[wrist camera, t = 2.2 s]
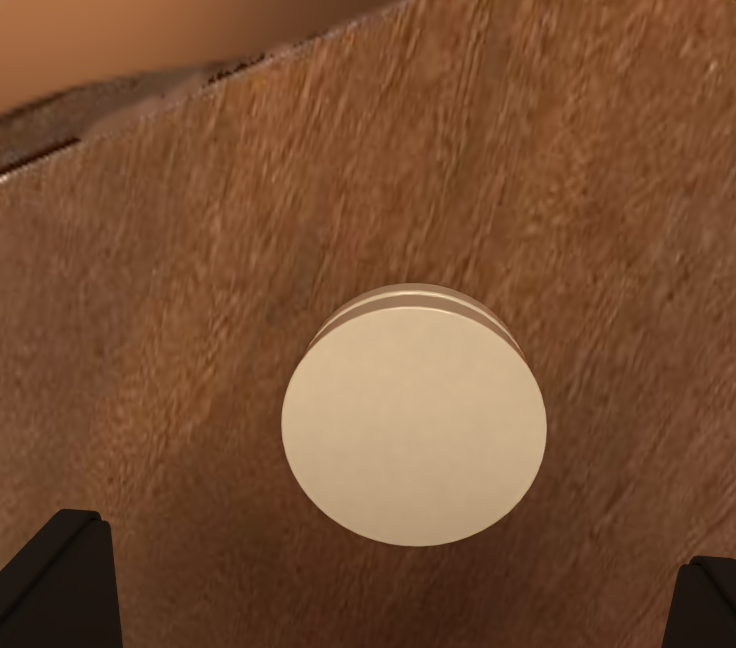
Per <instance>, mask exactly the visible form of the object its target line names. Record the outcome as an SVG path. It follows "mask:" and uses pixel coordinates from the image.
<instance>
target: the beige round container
mask: <svg viewBox="0 0 736 648" xmlns="http://www.w3.org/2000/svg"><path fill="white" fill-rule="evenodd" d="M281 429H282V440H283V445H284V449H285V454H286V457H287V459H288V462H289V465H290V468H291V470H292V472H293V474H294V476H295V478H296V479H297V481H298V483H299V485H300V486H301V487H302V489H303V490H304V492H305V493H306V495H307V496H308V497H309V498H310V499H311V500H312V501H313V503H314V504H315V505H316V506H317V507H318V508H319V509H320V510H322V511H323V512H324V513H325V514H326V515H327V516H329V517H330V518H331V519H333V520H334V521H336V522H337V523H339V524H340V525H342V526H343V527H345V528H347V529H349V530H351V531H353V532H355V533H357V534H359V535H362V536H364V537H367V538H370V539H372V540H376V541H380V542H384V543H388V544H394V545H401V546H432V545H440V544H445V543H450V542H454V541H457V540H460V539H464V538H467V537H469V536H472V535H474V534H476V533H478V532H480V531H483V530H484V529H486V528H488V527H489V526H491V525H492V524H494V523H496V522H497V521H498V520H500V519H501V518H502V517H503V516H505V515H506V514H507V513H508V512H510V511H511V509H512V508H513V507H514V506H515V505H516V504H517V503H518V502H519V501H520V500H521V499H522V497H523V496H524V495H525V493H526V492H527V490H528V489H529V488H530V486H531V484H532V482H533V480H534V478H535V477H536V475H537V473H538V470H539V467H540V465H541V462H542V459H543V455H544V450H545V445H546V435H547V422H546V411H545V406H544V402H543V398H542V394H541V392H540V389H539V387H538V384H537V382H536V379H535V377H534V375H533V373H532V371H531V369H530V367H529V365H528V363H527V361H526V359H525V356H524V354H523V352H522V350H521V348H520V346H519V344H518V343H517V341H516V339H515V337H514V336H513V334H512V333H511V331H510V330H509V329H508V328H507V326H506V325H505V324H504V322H503V321H502V320H500V319H499V318H498V317H497V316H496V315H495V314H494V313H493V312H492V311H491V310H490V309H488V308H487V307H486V306H484V305H483V304H481V303H480V302H478V301H477V300H475V299H473V298H471V297H469V296H468V295H466V294H463V293H461V292H458V291H455V290H453V289H450V288H446V287H442V286H438V285H432V284H424V283H402V284H395V285H388V286H384V287H380V288H377V289H373V290H371V291H368V292H366V293H363V294H361V295H359V296H357V297H355V298H354V299H352V300H350V301H348V302H347V303H345V304H344V305H343V306H341V307H340V308H339V309H337V310H336V311H335V312H334V313H333V314H332V315H331V316H330V317H329V318H328V319H327V320H326V321H325V322H324V323H323V324H322V326H321V327H320V328H319V330H318V331H317V332H316V334H315V335H314V337H313V339H312V341H311V342H310V344H309V346H308V348H307V350H306V352H305V353H304V355H303V357H302V359H301V361H300V363H299V364H298V366H297V368H296V370H295V372H294V374H293V376H292V377H291V380H290V382H289V385H288V388H287V390H286V393H285V398H284V402H283V407H282V419H281Z"/></svg>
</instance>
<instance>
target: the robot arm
mask: <svg viewBox="0 0 736 648" xmlns="http://www.w3.org/2000/svg"><path fill="white" fill-rule="evenodd" d="M0 648H123V644H122V635H121V625H120V615H119V605H118V595H117V586H116V576H115V566H114V556H113V546H112V536H111V528H110V524H109V523H108V522H107V521H102V519H101V516H100V514H99V513H98V512H96V511H87V510H74V509H62V510H60V511H58V512H57V513H56V514H55V515H54V516H53V517H52V518H51V519H50V520H49V521H48V522H47V523H46V524H45V525H44V526H43V527H42V528H41V529H40V531H39V532H38V533H37V534H36V535H35V536H34V537H33V538H32V539H31V540H30V541H29V542H28V543H27V544H26V545H25V546H24V547H23V548H22V549H21V550H20V551H19V552H18V553H17V554H16V556H15V557H14V558H13V559H12V560H11V561H10V562H9V563H8V564H7V565H6V566H5V567H4V568H3V569H2V570H1V571H0ZM661 648H736V560H735V559H733V558H723V557H709V556H694V557H693V558H692V559H691V560H690V563H689V565H688V564H684V565H682V566H681V567H680V568H679V571H678V575H677V580H676V584H675V589H674V593H673V598H672V602H671V607H670V611H669V616H668V620H667V625H666V629H665V634H664V638H663V643H662V647H661Z"/></svg>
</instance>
